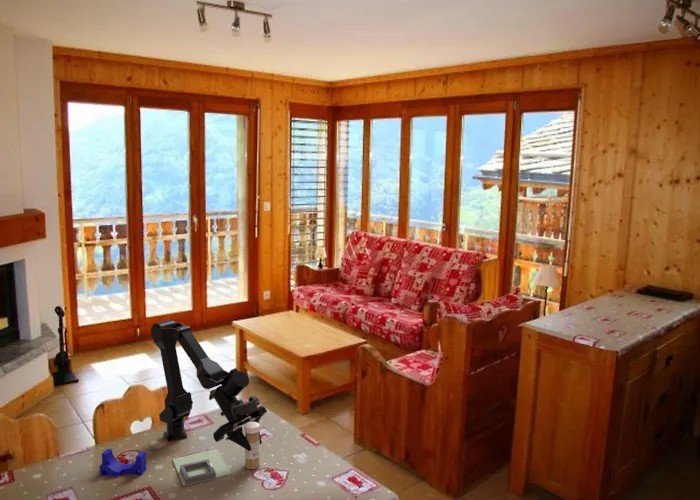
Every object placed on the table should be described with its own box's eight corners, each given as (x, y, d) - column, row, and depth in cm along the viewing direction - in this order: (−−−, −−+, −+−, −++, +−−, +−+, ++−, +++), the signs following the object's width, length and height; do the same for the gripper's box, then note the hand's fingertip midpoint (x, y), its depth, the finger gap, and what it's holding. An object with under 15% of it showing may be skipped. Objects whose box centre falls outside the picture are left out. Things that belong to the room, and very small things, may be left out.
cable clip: (99, 475, 163) (99, 456, 163) (107, 467, 168) (106, 448, 167) (139, 478, 162) (138, 459, 162) (146, 470, 167) (145, 451, 166)
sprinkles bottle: (257, 461, 173) (257, 420, 171) (261, 468, 169) (261, 426, 167) (242, 464, 171) (242, 422, 169) (246, 471, 167) (246, 428, 165)
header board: (172, 460, 173) (172, 453, 172) (217, 450, 179) (217, 443, 179) (183, 486, 158) (183, 479, 158) (231, 475, 165) (231, 467, 165)
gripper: (219, 400, 161) (248, 447, 157) (262, 380, 177) (289, 422, 173) (201, 419, 166) (228, 464, 162) (244, 398, 182) (270, 439, 178)
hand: (255, 447), depth 169 cm, fingers closed on sprinkles bottle, 4 cm apart
